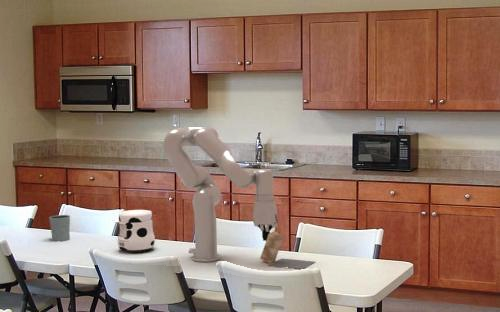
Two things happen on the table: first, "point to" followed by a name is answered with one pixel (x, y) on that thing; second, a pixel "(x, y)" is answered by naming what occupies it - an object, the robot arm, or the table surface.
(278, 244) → the maple block
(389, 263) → the table surface
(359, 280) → the table surface
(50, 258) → the table surface
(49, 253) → the table surface
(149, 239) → the milk container
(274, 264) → the charcoal mat
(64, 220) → the grey cup
